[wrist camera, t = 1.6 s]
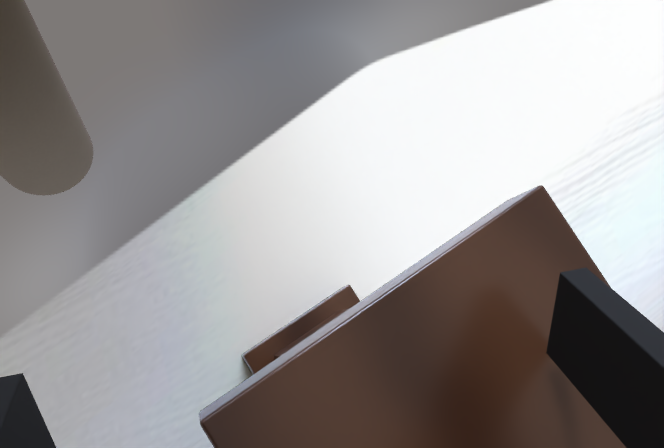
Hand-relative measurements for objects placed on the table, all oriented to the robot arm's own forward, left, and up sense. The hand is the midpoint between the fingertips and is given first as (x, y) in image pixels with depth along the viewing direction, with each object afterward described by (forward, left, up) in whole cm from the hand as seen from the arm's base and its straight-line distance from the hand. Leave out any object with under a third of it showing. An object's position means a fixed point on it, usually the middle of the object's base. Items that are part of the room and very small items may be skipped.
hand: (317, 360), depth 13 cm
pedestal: (+3, +4, -21) cm, 22 cm away
